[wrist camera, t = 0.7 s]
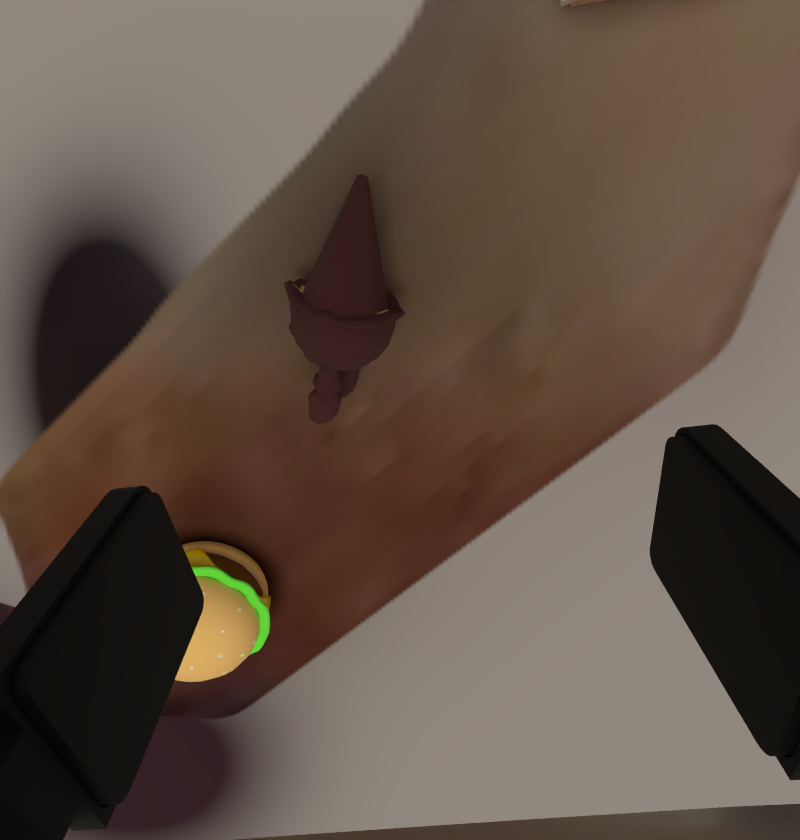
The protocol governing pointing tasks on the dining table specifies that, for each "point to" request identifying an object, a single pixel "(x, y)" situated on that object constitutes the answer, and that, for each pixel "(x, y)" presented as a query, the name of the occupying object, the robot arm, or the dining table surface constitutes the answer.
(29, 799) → the robot arm
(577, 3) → the tile
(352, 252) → the icecream
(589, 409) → the dining table surface
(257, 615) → the hamburger
